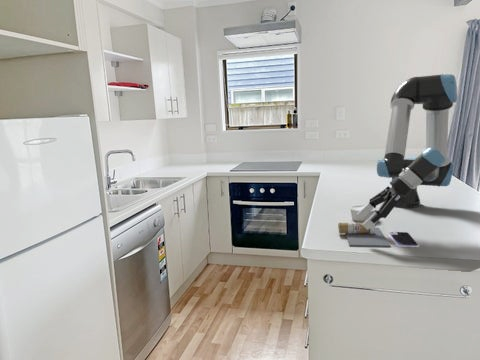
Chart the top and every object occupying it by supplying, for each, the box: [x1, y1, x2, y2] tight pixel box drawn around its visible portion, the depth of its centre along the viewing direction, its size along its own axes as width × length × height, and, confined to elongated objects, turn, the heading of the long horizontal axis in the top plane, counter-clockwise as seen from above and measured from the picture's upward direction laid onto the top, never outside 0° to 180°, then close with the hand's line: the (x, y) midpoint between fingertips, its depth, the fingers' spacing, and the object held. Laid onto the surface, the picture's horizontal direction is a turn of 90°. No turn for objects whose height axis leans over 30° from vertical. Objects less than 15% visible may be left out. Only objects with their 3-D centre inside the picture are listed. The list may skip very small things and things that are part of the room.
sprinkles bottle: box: [337, 222, 376, 235], centre depth 139 cm, size 5×5×13 cm
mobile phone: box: [388, 231, 420, 248], centre depth 132 cm, size 8×1×15 cm
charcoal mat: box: [344, 227, 392, 248], centre depth 137 cm, size 20×14×1 cm
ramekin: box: [349, 204, 377, 223], centre depth 159 cm, size 11×11×5 cm
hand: (361, 221), depth 136 cm, fingers open, 13 cm apart
